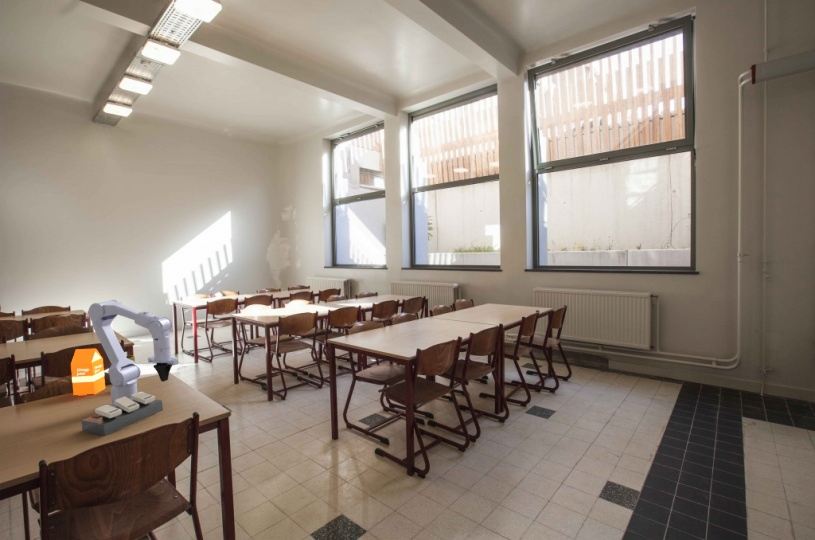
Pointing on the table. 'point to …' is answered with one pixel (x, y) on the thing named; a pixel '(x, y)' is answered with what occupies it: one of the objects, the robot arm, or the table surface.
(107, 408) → the rocker
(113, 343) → the robot arm
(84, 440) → the table surface
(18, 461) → the table surface
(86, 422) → the grey slab
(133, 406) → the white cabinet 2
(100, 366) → the orange juice
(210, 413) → the table surface
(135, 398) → the white rectangular block
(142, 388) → the table surface
